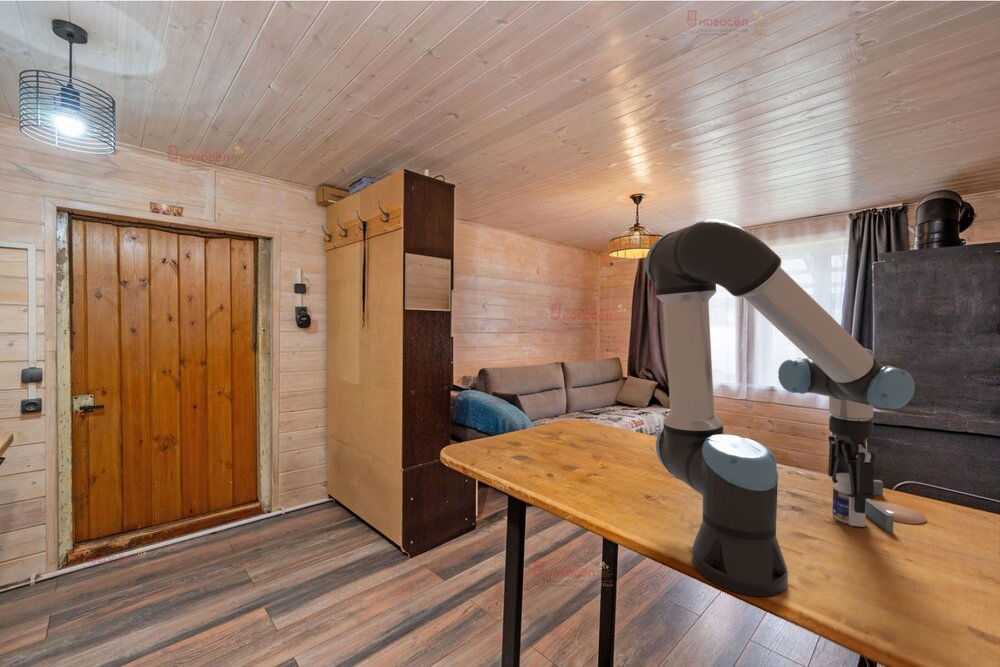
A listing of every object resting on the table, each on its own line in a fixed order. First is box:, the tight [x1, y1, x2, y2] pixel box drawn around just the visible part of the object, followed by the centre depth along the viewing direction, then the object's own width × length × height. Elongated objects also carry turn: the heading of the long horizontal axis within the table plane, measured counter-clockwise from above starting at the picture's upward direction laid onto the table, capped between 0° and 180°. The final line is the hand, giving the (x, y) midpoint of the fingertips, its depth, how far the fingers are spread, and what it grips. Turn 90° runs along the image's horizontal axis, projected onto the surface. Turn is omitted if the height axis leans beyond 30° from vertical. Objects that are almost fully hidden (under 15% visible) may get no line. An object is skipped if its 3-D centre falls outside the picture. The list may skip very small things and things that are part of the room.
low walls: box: [832, 479, 894, 533], centre depth 97 cm, size 22×10×4 cm, turn 165°
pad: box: [874, 501, 927, 525], centre depth 96 cm, size 10×10×1 cm
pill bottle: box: [831, 473, 852, 525], centre depth 93 cm, size 6×6×10 cm
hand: (848, 518), depth 93 cm, fingers closed on pill bottle, 6 cm apart
